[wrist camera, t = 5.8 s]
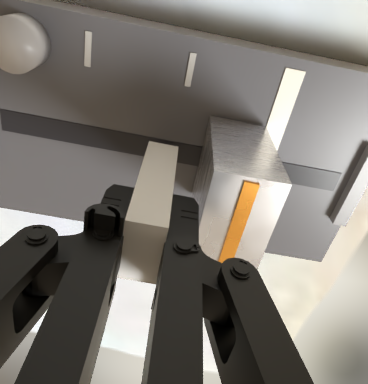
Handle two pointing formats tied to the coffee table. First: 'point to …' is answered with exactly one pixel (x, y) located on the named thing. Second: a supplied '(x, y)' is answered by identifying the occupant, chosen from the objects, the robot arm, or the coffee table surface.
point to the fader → (238, 190)
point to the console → (170, 114)
